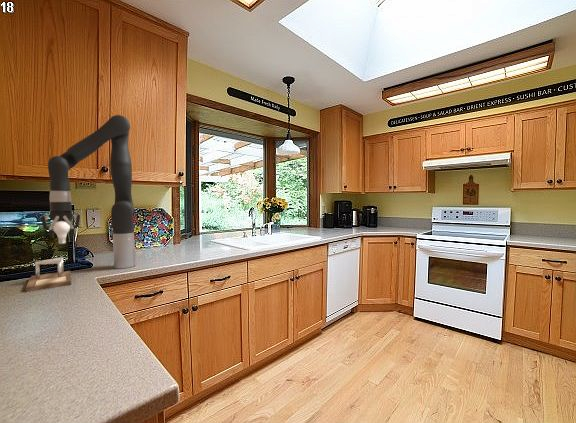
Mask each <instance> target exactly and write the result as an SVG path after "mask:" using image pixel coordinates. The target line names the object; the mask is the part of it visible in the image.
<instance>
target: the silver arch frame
mask: <svg viewBox="0 0 576 423" xmlns="http://www.w3.org/2000/svg"><path fill="white" fill-rule="evenodd" d="M53 264H56V265H57V272H58V277H62V273H64V272H65V271H64V257H63V256H61V257H60V256H59V257H56V258H50V259H44V260H43V259H42V260H38V261H37V260H36V261H34V265H35V275H36V279H39V278H40V275H41V274H40V273H41V272H40V265H53Z"/></svg>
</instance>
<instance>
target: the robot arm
mask: <svg viewBox="0 0 576 423" xmlns="http://www.w3.org/2000/svg"><path fill="white" fill-rule="evenodd" d="M130 129H131V123H130V121H129V119H128V118H127V117H126V116H123V115H119V114H116V115H113V116H111V117H110V118H108V120H107V121H106V122H105V123H104V124H103V125H101V126H100V127H99V128H97V129H96V130H95V131H94V132H92V133H90V134H89V135H87V136H85V137H84V138H82V139H81V140H79V141H78V142H76V143H74V144H73V145H71V146H70V147H69V148H67V149H66V151H65V152H63V153H62V154H61V155H59V156H58V155H56V156H55V155H54V156H52V157H50V158H49V159H48V160H47V169H48V170H47V171H48V176H49V191H50V192H49V214H47V215H44V214H43V215H41V216H40V220H41V224H42V227H43V228H42V229H44V230H47V231H48V237H49V238H51V239H54V238H55V234H54V233H55V232H54V231H53V226H54V225H55V224H56V222H59V221H65V222H67V224H68V225H70V230H69V233H70V234H69V235H70V238H73V236H75V229H76V228H79V227H80V221H81V220H80V219H81V214H74V213H73V212H72V195H71V182H70V178H69V171H70V170H72V168H74V167H75V166H76V165H78V164H79V163H80V162H81V161H84V160H85V159H87V158H88V157H90V156H91V155H93V153H95V152H97V150H98V149H100V148H101V147H102V146H103V145H105V144H106V143H107V142H108V141H110V142H111V150H110V158H109V162H110V163H109V164H110V166H109V168H110V176H111V182H112V185H113V191H114V204H113V205H112V207H111V211H110V214H111V216H110V217H111V218H110V219H111V229H112V245H113V246H112V248H113V249H112V250H113V251H112V252H113V258H112V259H113V268H114V269H126V268H131V267H132V268H133V267H136V265H137V263H136V247H135V226H134V212H135V209H134V208H135V206H134V204H133V202H134V201H133V198H132V197H133V195H132V185H133V184H132V183H133V166H132V159H131V158H132V157H131V154H130V153H131V152H130V149H129V134H130ZM48 218H49V219H50V220H52V222H51V224H50V226H48V225H47V224H48V223H47V221H48ZM72 218H74V220H75V224H73V223H72V221H70V220H72Z"/></svg>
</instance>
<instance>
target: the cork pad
mask: <svg viewBox="0 0 576 423" xmlns="http://www.w3.org/2000/svg"><path fill="white" fill-rule="evenodd" d="M59 282H66V276H65V277H58V278H50V279H43V280H37V281H36V284H35V286H39V285H45V284H52V283H59Z"/></svg>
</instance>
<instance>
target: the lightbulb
mask: <svg viewBox="0 0 576 423" xmlns="http://www.w3.org/2000/svg"><path fill="white" fill-rule="evenodd" d="M70 229H71V228H70V225H68V224H67V222H65V221H59V222H56V224H55V225H54V226H53V233H55V234H56V236H57V237H56V238H58V244H59V245H65V244H66V243H67V236H68V233H70Z"/></svg>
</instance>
